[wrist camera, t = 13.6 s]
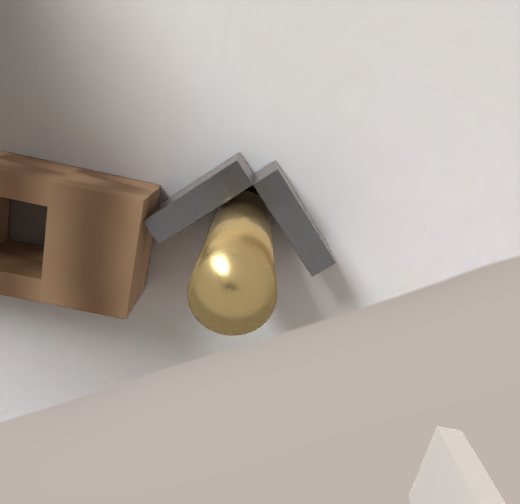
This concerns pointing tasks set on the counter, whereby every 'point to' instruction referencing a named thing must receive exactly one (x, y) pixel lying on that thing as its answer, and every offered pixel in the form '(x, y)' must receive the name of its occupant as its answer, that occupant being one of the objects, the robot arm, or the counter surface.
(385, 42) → the counter surface
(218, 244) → the axle
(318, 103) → the counter surface
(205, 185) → the v block
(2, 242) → the wooden block with hole
